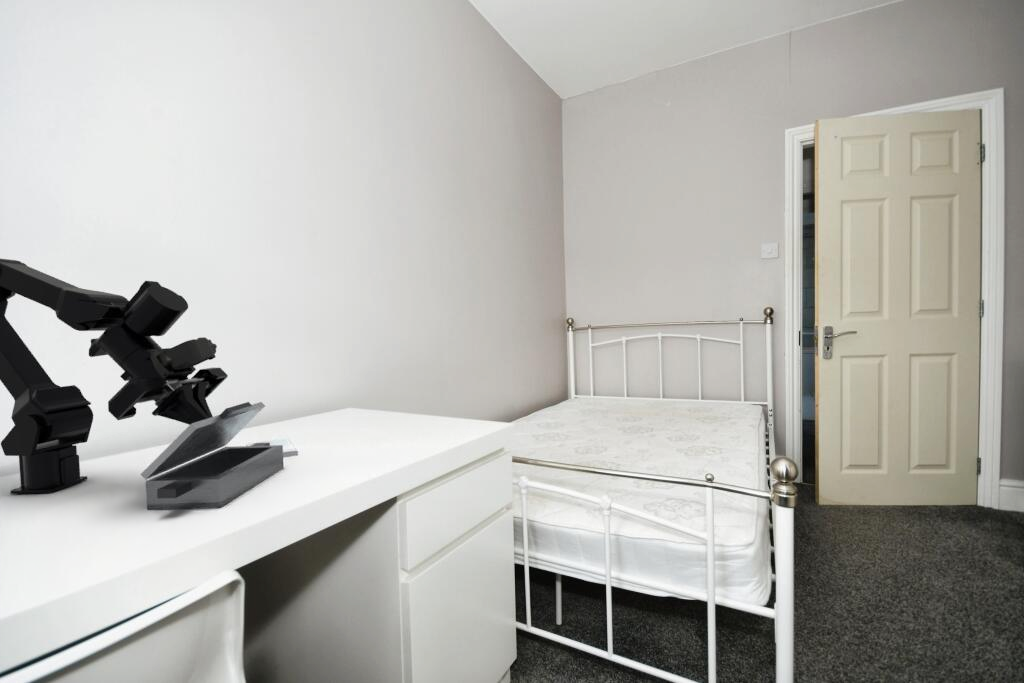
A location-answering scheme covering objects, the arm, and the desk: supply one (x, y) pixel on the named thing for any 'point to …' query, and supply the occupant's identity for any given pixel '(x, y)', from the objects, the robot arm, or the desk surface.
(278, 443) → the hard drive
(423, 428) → the desk surface
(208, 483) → the grey hinged box
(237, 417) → the box lid
